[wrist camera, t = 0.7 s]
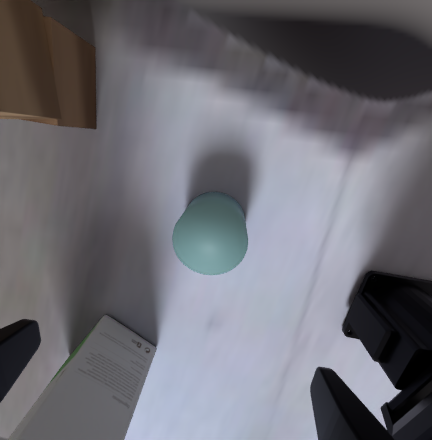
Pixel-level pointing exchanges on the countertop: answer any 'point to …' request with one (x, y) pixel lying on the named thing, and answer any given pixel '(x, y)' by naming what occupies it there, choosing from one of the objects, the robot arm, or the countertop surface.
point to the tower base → (72, 76)
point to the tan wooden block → (25, 64)
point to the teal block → (211, 234)
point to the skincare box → (92, 388)
